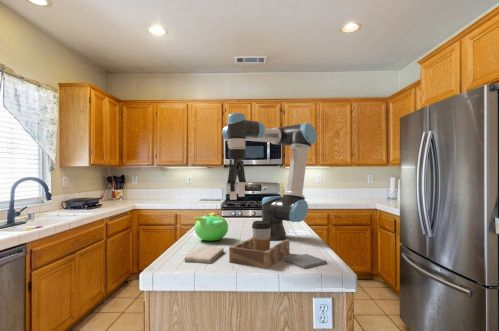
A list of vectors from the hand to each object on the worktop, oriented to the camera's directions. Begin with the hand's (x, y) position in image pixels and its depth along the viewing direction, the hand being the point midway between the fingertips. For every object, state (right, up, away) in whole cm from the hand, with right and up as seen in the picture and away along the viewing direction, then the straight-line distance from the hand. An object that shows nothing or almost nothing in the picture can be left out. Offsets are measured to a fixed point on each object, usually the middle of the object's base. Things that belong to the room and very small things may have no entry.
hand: (237, 198), depth 123 cm
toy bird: (-15, -27, +30) cm, 43 cm away
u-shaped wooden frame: (+10, -25, -1) cm, 27 cm away
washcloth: (-14, -26, 0) cm, 30 cm away
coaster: (+28, -25, -8) cm, 38 cm away
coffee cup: (+10, -26, -1) cm, 28 cm away
